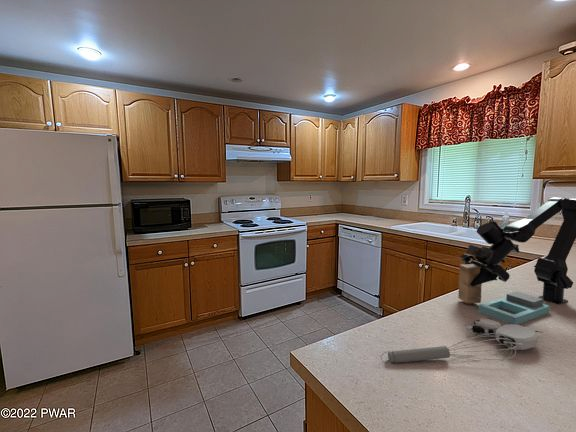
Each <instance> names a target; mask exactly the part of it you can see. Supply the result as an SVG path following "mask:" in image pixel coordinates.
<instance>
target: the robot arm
mask: <svg viewBox="0 0 576 432" xmlns="http://www.w3.org/2000/svg"><path fill="white" fill-rule="evenodd" d="M559 212H561V215H562V217H563V218H562V219H563V221H562V223H561V225H560V227H559V230H558V231H557V234H556V236H555V238H554V241H553V243H552V245H551V247H550V250H549V252H548V253H547V255H546V256H545V257H538V258H537V260H536V263H535V265H534V266H533V268H534V274H535V276H536V280H537V281H538V282H541V283H543V286H542V295H539V296H537V297H538V298H541V299H543V301H546V302H549V303H552V304H557V305H562V304H564V303H567V302H568V301H569V300H568V299H565V298H564V297H565V289H566V290H567V289H571V288H572V287H573V285H574V282H573V280H572V279H571V278H570V277H569V276H568V275H567V274H568V271H569V270H568V269H569V268H568V265H567V258H568V256H569V254H570V252H571V249H572V247H573V245H574V243H575V242H576V197H575V198H573V197H572V198H566V197H556V196H555V197H551V198H548V200H547V201H546V202H545V203H544V204H542V205H541V206H539V207H538V208H537V209H535V210H534V211H533V212H531V213H530V214H529V215H527V216H526V217H523V219H519V220H516V221H513V222H511V223H509V224H507V225H505V226H504V227H503V228H501V227H500V226H499V225H498V222H497V221H496V220H490V221H489V222H486V223H483V224H481V225H480V226H478V227H477V229H476V233H477V235H479V236H480V238H482V239H483V240H484V242H486V243H487V244H489V245H490V246H489V247H486V246H481V247H480V246H479V247H478V246H476V245H472V244H469V245H468V246H467V249H466V251H465V253H462V254H461V255H460V256H459V259H460V260H462V262H463V263H464V264H474V265H476V266H479V267H481V269H480V273H479V274H478V275H477V276H476V277H475V279H474V280H473V281H472V282H471V284H470V285H471V286H476V285H479V284H485V283H488V282H493V281H498V280H499V281H501V282H504V283H506V282H507V281H508V280H509V279H510V277H511V276H510V273H509V272H508V271H507V270H506V269H505V268H504V267H503V266H502V265H500V264H501V263H502V264H504V263H506V260H505V258H506V257H507V256H508V255H510V253H511V252H514V253H520V248H519V244H516V243H517V242H518V243H527V242H528V241H530V239H531V238H533V236H534V235H535V233H536V229H538V228H539V227H540V226H542V225H543V224H545V223H546V222H547V221H549V220H550V219H552V218H553V217H554V216H555V215H558V213H559ZM513 242H516V243H513Z"/></svg>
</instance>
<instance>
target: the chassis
mask: <svg viewBox="0 0 576 432" xmlns="http://www.w3.org/2000/svg"><path fill="white" fill-rule="evenodd" d="M538 297H539V296H534V295H531V294H528V293H523V292H520V291H513V292H512V291H511V292H510V293H506V296H504V297H500V298H497V299H494V300H491V301H487V302H482V303H478V312H479V313H480V314H484V315H487V316H489V317H491V318H494V319H497V320H499V321H502V322H504V323H506V324H508V325H509V324H514V325H520V324H522V323H523V324H524V323H525V322H529V321H531V320H534V319H536V318H539V317H543V316H544V315H545V316H546V315H547V314H550V312H551V311H550V309H551V308H550V307H551V306H550V305H549V304H545V303H544V300H543V299H541V298H538ZM501 309H503V310H501ZM505 310H506V311H505ZM507 311H509V312H507ZM510 312H513V313H510ZM514 313H515V314H514Z"/></svg>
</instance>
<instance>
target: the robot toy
mask: <svg viewBox="0 0 576 432" xmlns="http://www.w3.org/2000/svg"><path fill="white" fill-rule="evenodd" d="M465 329H466V330H468V331H472V333H475V334H481V336H487V337H491V338H493V337H492V336H497V337H495V340H496V341H497V342H498V344H507V345H505V346H506V347H507V349H509V348H510V347H511V346H510V345H511V344H512V345H513V346H512V348H513V347H514V346H516V347H515V349H514V348H513V349H512V350H511V351H515V350H516V351H519V350H522V351H523V350H528V349H529V350H530V349H533V348H535V347H537V345H538V344H539V334H543V333H544V331H542V330H535V329H532V328H530V327H525V326H524V325H523V326H522V325H520V324H518V325H514V324H509V323H508V324H503V325H502V324H501V323H500V322H498V321H496V320H494V319H492V318H489V317H488V318H480V319H477V320H474V322H473V325H472V326H471V325H466V327H465ZM491 333H495V334H491ZM483 334H486V335H483ZM499 334H501V335H499ZM502 335H503V336H502ZM504 336H505V337H504ZM499 337H501V338H506V339H505V340H504V339H499ZM507 338H508V339H510V340H508V339H507ZM506 340H507V341H506ZM509 341H510V343H511V344H510V343H509ZM512 342H513V343H512Z"/></svg>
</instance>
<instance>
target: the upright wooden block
mask: <svg viewBox="0 0 576 432" xmlns="http://www.w3.org/2000/svg"><path fill="white" fill-rule="evenodd" d="M480 269H481V267H479V266H476V265H474V264H465V263H463V264H459V273H458V299H459V300H461V301H463V302H464V303H466V304H482V303H481V302H482V284H483V283H482V284H479V285H476V286H471V285H470V284H471V282H472V281H473V280H474V279H475V277H476V276H477V275H478V274H479V273H480Z"/></svg>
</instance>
